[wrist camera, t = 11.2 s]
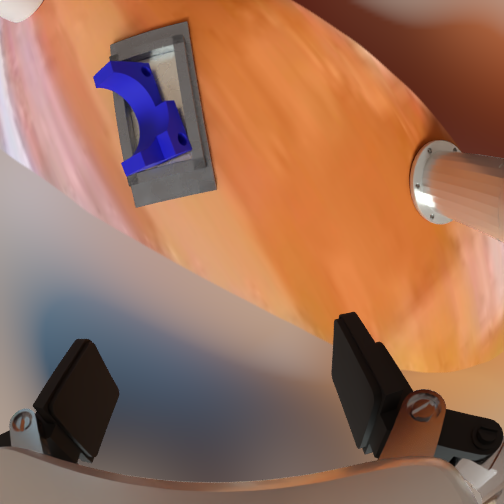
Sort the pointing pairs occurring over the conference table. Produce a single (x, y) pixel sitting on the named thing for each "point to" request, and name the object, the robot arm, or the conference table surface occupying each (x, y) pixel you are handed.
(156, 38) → the grey rectangular tray
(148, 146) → the cable clip
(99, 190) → the conference table surface
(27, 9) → the pill bottle
